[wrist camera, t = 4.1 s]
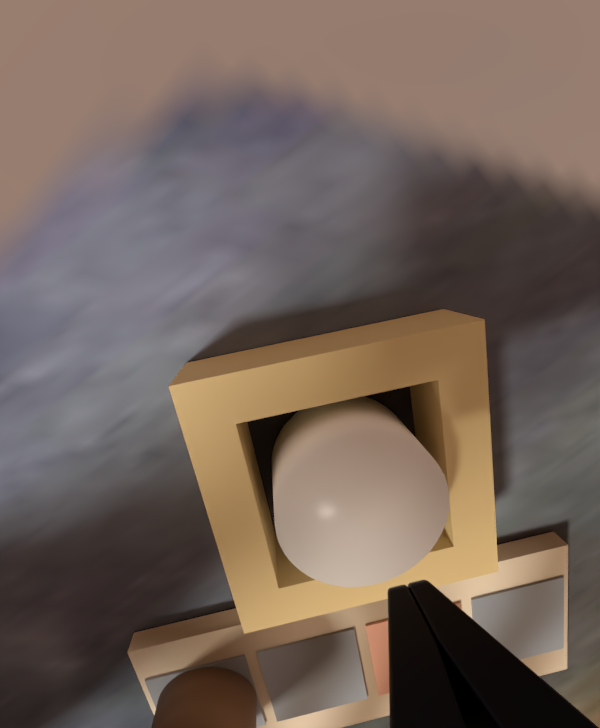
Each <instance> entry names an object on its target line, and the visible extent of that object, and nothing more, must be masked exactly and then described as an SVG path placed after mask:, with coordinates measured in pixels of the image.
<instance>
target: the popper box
mask: <svg viewBox="0 0 600 728" xmlns="http://www.w3.org/2000/svg"><path fill="white" fill-rule="evenodd" d="M408 386H410V394H411V402H412V411H413V419H414V428H415V437H416V439H417V440H418V441H419V442H420V443H421V444H422V446H423V447H424V448H425V449H426V450H427V451H428V452H429V453H430V455H431V456H432V457H433V458H434V459H435V461H436V462H437V463H438V465H439V466H440V468H441V470H442V472H443V474H444V475H445V478H446V481H447V484H448V490H449V512H448V517H447V521H446V524H445V527H444V529H443V531H442V534H441V535H440V537H439V539H438V541H437V542H436V544H435V545H434V546H433V548H432V549H431V550H430V552H429V553H428V554H427V555H426V556H425V557H424V558H423V559H422V560H421V561H420V562H418V563H417V564H416V565H415V566H414V567H412V568H411V569H409V570H408V571H406V572H404V573H403V574H401V575H399V576H397V577H395V578H393V579H390V580H388V581H385V582H382V583H378V584H375V585H369V586H363V587H341V586H334V585H330V584H326V583H322V582H320V581H317V580H315V579H313V578H311V577H309V576H307V575H306V574H304V573H303V572H301V571H300V570H299V569H297V568H296V567H295V566H294V565H293V564H292V563H291V562H290V561H289V559H288V558H287V556H286V555H285V554H284V552H283V550H282V548H281V546H280V544H279V541H278V538H277V535H275V531H274V527H273V523H272V519H271V515H270V511H269V507H268V503H267V499H266V495H265V491H264V487H263V483H262V479H261V475H260V471H259V467H258V463H257V459H256V455H255V451H254V447H253V443H252V439H251V435H250V431H249V427H248V423H247V422H248V421H252V420H257V419H262V418H266V417H271V416H275V415H280V414H284V413H289V412H294V411H298V410H303V409H307V408H312V407H316V406H321V405H326V404H330V403H335V402H339V401H344V400H349V399H353V398H358V397H362V396H367V395H371V394H376V393H381V392H385V391H390V390H394V389H399V388H404V387H408ZM169 389H170V393H171V396H172V399H173V403H174V406H175V409H176V412H177V416H178V419H179V422H180V425H181V429H182V432H183V435H184V439H185V442H186V445H187V448H188V452H189V455H190V458H191V461H192V465H193V468H194V471H195V475H196V478H197V481H198V484H199V488H200V491H201V494H202V498H203V501H204V504H205V507H206V511H207V514H208V517H209V520H210V524H211V527H212V530H213V534H214V537H215V540H216V543H217V547H218V550H219V553H220V556H221V560H222V563H223V566H224V570H225V573H226V576H227V579H228V583H229V586H230V589H231V593H232V596H233V599H234V602H235V606H236V609H237V612H238V615H239V619H240V622H241V625H242V629H243V632H244V634H246V633H250V632H254V631H258V630H262V629H266V628H270V627H274V626H278V625H282V624H286V623H291V622H295V621H299V620H303V619H307V618H311V617H315V616H319V615H323V614H327V613H331V612H335V611H340V610H344V609H348V608H352V607H356V606H360V605H364V604H368V603H372V602H376V601H380V600H384V599H388V589H389V588H391V587H395V586H399V585H406V586H408V584H409V583H411V582H415V581H420V580H427V581H429V582H430V583H431V584H432V585H434V586H435V587H438V586H442V585H446V584H450V583H454V582H458V581H462V580H466V579H470V578H474V577H478V576H482V575H487V574H491V573H495V572H498V554H497V536H496V517H495V499H494V481H493V462H492V444H491V425H490V407H489V389H488V370H487V352H486V333H485V319H481V318H477V317H473V316H469V315H466V314H462V313H458V312H454V311H450V310H446V309H441V310H436V311H431V312H426V313H422V314H417V315H412V316H407V317H403V318H398V319H393V320H388V321H383V322H379V323H374V324H369V325H364V326H360V327H355V328H350V329H345V330H340V331H336V332H331V333H326V334H321V335H317V336H312V337H307V338H302V339H297V340H293V341H288V342H283V343H278V344H274V345H269V346H264V347H259V348H254V349H250V350H245V351H240V352H235V353H231V354H226V355H221V356H216V357H211V358H207V359H202V360H197V361H192V362H188V363H186V364H185V365H184V366H183V368H182V369H181V370H180V372H179V373H178V374H177V376H176V377H175V378H174V380H173V381H172V382H171V384H170V385H169Z"/></svg>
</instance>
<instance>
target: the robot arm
mask: <svg viewBox="0 0 600 728" xmlns="http://www.w3.org/2000/svg"><path fill="white" fill-rule="evenodd" d="M388 650H389V706H390V728H598V727H597V726H596V725H595V724H594V723H593V722H591V721H590V720H589V719H588V718H587V717H586V716H584V715H583V714H582V713H581V712H580V711H579V710H578V709H576V708H575V707H574V706H573V705H572V704H571V703H569V702H568V701H567V700H566V699H565V698H564V697H562V696H561V695H560V694H559V693H558V692H557V691H555V690H554V689H553V688H552V687H551V686H550V685H548V684H547V683H546V682H545V681H544V680H543V679H542V678H540V677H539V676H538V675H537V674H536V673H535V672H533V671H532V670H531V669H530V668H529V667H528V666H526V665H525V664H524V663H523V662H522V661H521V660H519V659H518V658H517V657H516V656H515V655H514V654H513V653H511V652H510V651H509V650H508V649H507V648H506V647H504V646H503V645H502V644H501V643H500V642H499V641H497V640H496V639H495V638H494V637H493V636H492V635H490V634H489V633H488V632H487V631H486V630H485V629H483V628H482V627H481V626H480V625H479V624H478V623H477V622H475V621H474V620H473V619H472V618H471V617H470V616H468V615H467V614H466V613H465V612H464V611H463V610H461V609H460V608H459V607H458V606H457V605H456V604H454V603H453V602H452V601H451V600H450V599H449V598H447V597H446V596H445V595H444V594H443V593H442V592H441V591H439V590H438V589H437V588H436V587H435V586H434V585H432V584H431V583H430V582H429V581H427V580H420V581H415V582H411V583H409V584H408V586H406V585H399V586H395V587H391V588H389V589H388Z"/></svg>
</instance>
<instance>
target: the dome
mask: <svg viewBox="0 0 600 728" xmlns="http://www.w3.org/2000/svg"><path fill="white" fill-rule="evenodd" d="M271 460H272V485H273V503H274V522H275V530H276V535H277V538H278V541H279V544H280V546H281V548H282V550H283V552H284V554H285V555H286V556H287V558H288V559H289V561H290V562H291V563H292V564H293V565H294V566H295V567H296V568H297V569H299V570H300V571H301V572H303V573H304V574H306V575H307V576H309V577H311V578H313V579H315V580H317V581H320V582H322V583H326V584H330V585H334V586H341V587H363V586H369V585H375V584H378V583H382V582H385V581H388V580H390V579H393V578H395V577H397V576H399V575H401V574H403V573H404V572H406V571H408V570H409V569H411V568H412V567H414V566H415V565H416V564H417V563H418V562H420V561H421V560H422V559H423V558H424V557H425V556H426V555H427V554H428V553H429V552H430V550H431V549H432V548H433V546H434V545H435V544H436V542H437V541H438V539H439V537H440V535H441V534H442V531H443V529H444V527H445V524H446V521H447V517H448V512H449V490H448V484H447V481H446V478H445V475H444V474H443V472H442V470H441V468H440V466H439V465H438V463H437V462H436V461H435V459H434V458H433V457H432V456H431V455H430V453H429V452H428V451H427V450H426V449H425V448H424V447H423V446H422V444H421V443H420V442H419V441H418V440H417V439H416V438H415V437H414V435H413V434H412V433H411V432H410V431H409V430H408V429H407V428H406V426H405V425H404V424H403V423H402V422H401V421H400V420H399V419H398V417H397V416H396V415H395V414H394V413H393V412H392V411H391V410H390V409H388V408H387V407H386V406H384V405H383V404H381V403H379V402H377V401H376V400H373V399H370V398H368V397H364V396H362V397H358V398H353V399H349V400H344V401H339V402H335V403H330V404H326V405H321V406H316V407H312V408H307V409H303V410H299V411H298V412H296V413H295V414H294V415H293V416H292V417H291V418H290V419H289V420H288V421H287V423H286V424H285V425H284V426H283V428H282V429H281V431H280V433H279V434H278V437H277V439H276V441H275V444H274V448H273V452H272V459H271Z"/></svg>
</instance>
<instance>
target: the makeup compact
mask: <svg viewBox="0 0 600 728" xmlns="http://www.w3.org/2000/svg"><path fill="white" fill-rule="evenodd" d="M497 554H498V572H495V573H491V574H487V575H482V576H478V577H474V578H470V579H466V580H462V581H458V582H454V583H450V584H446V585H442V586H438V587H436V588H437V589H438V590H439V591H441V592H442V593H443V594H444V595H445V596H446V597H447V598H449V599H450V600H451V601H452V602H453V603H454V604H456V605H457V606H458V607H459V608H460V609H461V610H463V611H464V612H465V613H466V614H467V615H468V616H470V617H471V618H472V619H473V620H474V621H475V622H477V623H478V624H479V625H480V626H481V627H482V628H483V629H485V630H486V631H487V632H488V633H489V634H490V635H492V636H493V637H494V638H495V639H496V640H497V641H499V642H500V643H501V644H502V645H503V646H504V647H506V648H507V649H508V650H509V651H510V652H511V653H513V654H514V655H515V656H516V657H517V658H518V659H519V660H521V661H522V662H523V663H524V664H525V665H526V666H528V667H529V668H530V669H531V670H532V671H533V672H535V673H536V674H537V675H538V676H542V675H545V674H549V673H553V672H557V671H561V670H565V669H567V617H568V544H567V543H566V542H564V541H563V540H562V539H561V538H560V537H559V536H558V535H557V534H556V533H555V532H554V531H553V532H549V533H545V534H541V535H537V536H533V537H528V538H524V539H520V540H516V541H512V542H508V543H504V544H499V545H497ZM127 653H128V655H129V658H130V660H131V662H132V665H133V667H134V669H135V672H136V674H137V677H138V679H139V681H140V684H141V686H142V688H143V691H144V693H145V695H146V698H147V700H148V702H149V705H150V707H151V709H152V712H153V714H154V715H155V711H156V707H157V702H158V698H159V696H160V693H161V692H162V690H163V689H164V687H165V686H166V685H167V684H168V683H169V682H170V681H171V680H173V679H174V678H176V677H177V676H179V675H181V674H183V673H185V672H188V671H191V670H194V669H199V668H207V667H216V668H224V669H228V670H231V671H234V672H236V673H239V674H240V675H242V676H244V677H245V678H246V679H247V680H248V681H249V682H250V683H251V684H252V686H253V687H254V690H255V692H256V697H257V714H256V728H341V727H345V726H349V725H353V724H357V723H361V722H365V721H368V720H372V719H376V718H380V717H384V716H388V715H390V706H389V650H388V599H384V600H380V601H376V602H372V603H368V604H364V605H360V606H356V607H352V608H348V609H344V610H340V611H335V612H331V613H327V614H323V615H319V616H315V617H311V618H307V619H303V620H299V621H295V622H291V623H286V624H282V625H278V626H274V627H270V628H266V629H262V630H258V631H254V632H250V633H246V634H244V632H243V629H242V625H241V622H240V619H239V615H238V612H237V609H236V608H234V609H230V610H226V611H222V612H218V613H214V614H209V615H205V616H201V617H197V618H193V619H189V620H185V621H180V622H176V623H172V624H168V625H164V626H160V627H156V628H151V629H147V630H143V631H139V632H135V633H134V634H133V637H132V640H131V643H130V646H129V649H128V651H127Z"/></svg>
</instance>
